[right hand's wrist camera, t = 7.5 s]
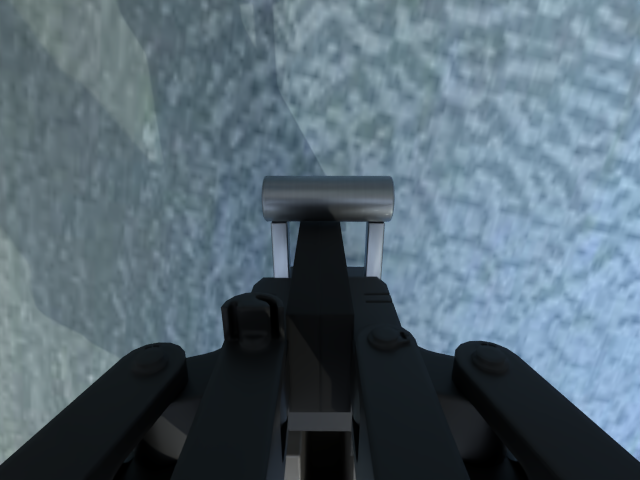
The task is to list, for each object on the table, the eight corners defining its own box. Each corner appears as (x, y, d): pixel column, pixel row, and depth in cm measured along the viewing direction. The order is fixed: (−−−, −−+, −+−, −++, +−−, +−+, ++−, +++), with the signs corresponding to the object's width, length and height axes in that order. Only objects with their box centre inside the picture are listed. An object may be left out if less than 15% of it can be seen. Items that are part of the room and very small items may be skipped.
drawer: (275, 153, 18) (228, 213, 9) (379, 153, 18) (431, 214, 9) (289, 462, 26) (271, 655, 17) (361, 462, 26) (380, 656, 17)
